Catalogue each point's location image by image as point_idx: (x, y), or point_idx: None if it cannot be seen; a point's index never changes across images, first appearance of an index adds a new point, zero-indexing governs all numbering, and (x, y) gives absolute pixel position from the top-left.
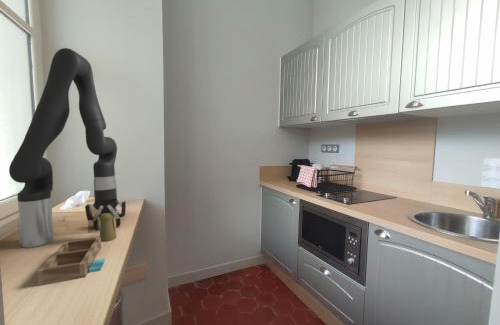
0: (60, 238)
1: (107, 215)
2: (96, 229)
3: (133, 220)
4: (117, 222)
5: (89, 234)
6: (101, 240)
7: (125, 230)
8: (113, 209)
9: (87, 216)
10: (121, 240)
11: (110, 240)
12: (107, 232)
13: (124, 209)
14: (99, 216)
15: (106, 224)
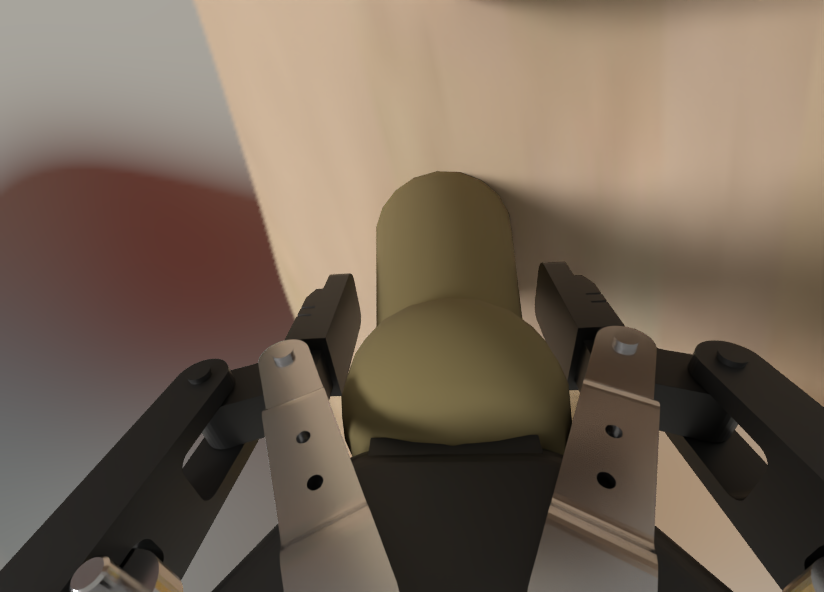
0: (794, 353)
1: (415, 360)
2: (556, 263)
3: None
4: (318, 308)
5: None
6: (486, 189)
7: None
8: (280, 487)
9: (795, 398)
10: (307, 155)
11: (409, 182)
12: (431, 215)
13: (98, 472)
14: (564, 386)
15: (440, 268)
